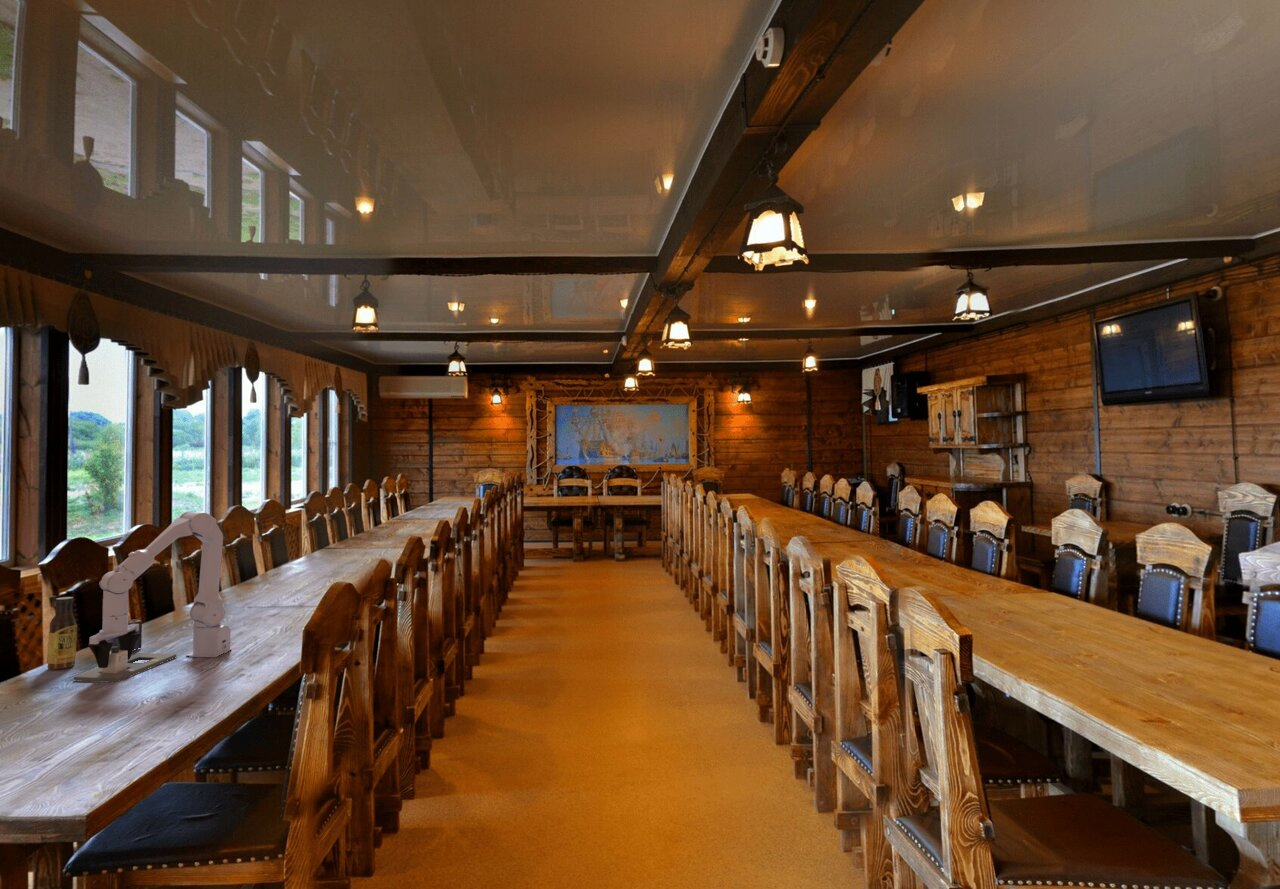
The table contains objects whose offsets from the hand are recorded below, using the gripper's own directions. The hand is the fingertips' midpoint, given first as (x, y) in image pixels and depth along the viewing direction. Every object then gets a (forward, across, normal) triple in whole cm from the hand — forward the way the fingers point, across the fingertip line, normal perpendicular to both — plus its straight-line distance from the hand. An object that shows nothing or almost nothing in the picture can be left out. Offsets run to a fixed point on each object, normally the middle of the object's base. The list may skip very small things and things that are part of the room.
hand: (114, 663), depth 192 cm
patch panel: (+3, -5, 0) cm, 5 cm away
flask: (+3, -21, -15) cm, 26 cm away
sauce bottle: (+3, -5, -20) cm, 21 cm away
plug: (+3, 0, 0) cm, 3 cm away
